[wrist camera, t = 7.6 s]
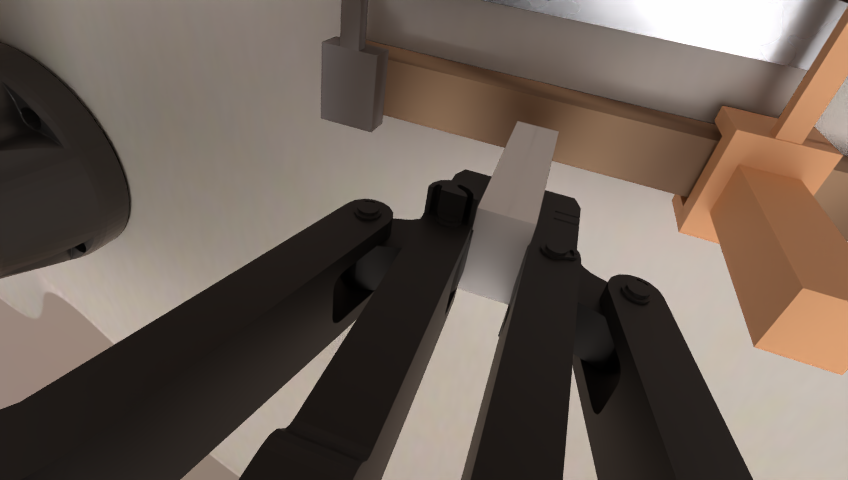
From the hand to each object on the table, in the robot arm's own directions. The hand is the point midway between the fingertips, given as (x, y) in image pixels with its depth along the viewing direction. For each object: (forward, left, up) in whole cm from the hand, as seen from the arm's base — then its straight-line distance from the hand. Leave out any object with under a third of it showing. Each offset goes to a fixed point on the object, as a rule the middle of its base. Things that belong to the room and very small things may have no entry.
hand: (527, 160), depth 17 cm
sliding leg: (+8, +3, -4) cm, 9 cm away
